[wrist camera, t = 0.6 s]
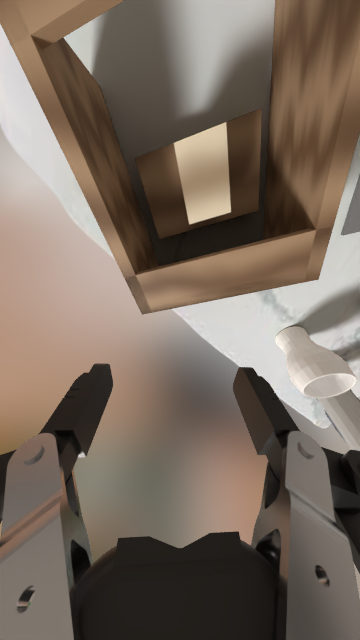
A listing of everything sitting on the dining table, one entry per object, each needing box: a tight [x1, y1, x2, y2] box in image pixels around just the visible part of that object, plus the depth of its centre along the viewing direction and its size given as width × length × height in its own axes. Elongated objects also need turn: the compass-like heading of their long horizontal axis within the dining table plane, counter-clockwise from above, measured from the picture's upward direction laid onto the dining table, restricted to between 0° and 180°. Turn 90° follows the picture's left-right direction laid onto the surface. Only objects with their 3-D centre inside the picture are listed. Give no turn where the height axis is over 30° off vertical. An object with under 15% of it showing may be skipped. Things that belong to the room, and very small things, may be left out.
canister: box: [316, 389, 360, 451], centre depth 40 cm, size 10×10×30 cm
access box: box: [0, 0, 360, 314], centre depth 20 cm, size 26×24×14 cm
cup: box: [275, 326, 357, 398], centre depth 38 cm, size 11×11×15 cm
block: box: [174, 122, 231, 224], centre depth 20 cm, size 7×5×7 cm
